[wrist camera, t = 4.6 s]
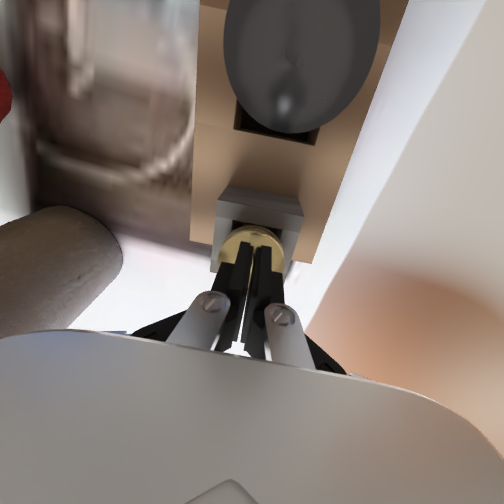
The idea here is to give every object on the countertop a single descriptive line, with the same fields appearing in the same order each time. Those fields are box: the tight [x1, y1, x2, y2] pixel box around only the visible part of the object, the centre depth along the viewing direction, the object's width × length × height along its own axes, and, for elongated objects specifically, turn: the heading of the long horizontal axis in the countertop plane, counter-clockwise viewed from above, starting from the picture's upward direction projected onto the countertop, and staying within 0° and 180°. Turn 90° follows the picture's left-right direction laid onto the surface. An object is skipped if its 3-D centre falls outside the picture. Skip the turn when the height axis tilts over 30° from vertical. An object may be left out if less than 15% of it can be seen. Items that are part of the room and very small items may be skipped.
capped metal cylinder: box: [223, 0, 381, 133], centre depth 11 cm, size 4×4×12 cm
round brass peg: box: [218, 222, 284, 287], centre depth 14 cm, size 4×4×4 cm
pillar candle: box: [0, 205, 122, 339], centre depth 18 cm, size 10×10×15 cm
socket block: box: [190, 0, 409, 285], centre depth 15 cm, size 16×10×8 cm, turn 170°
